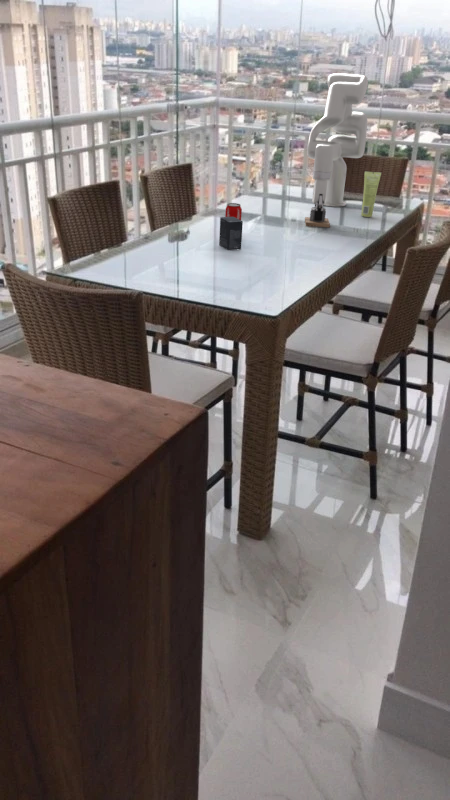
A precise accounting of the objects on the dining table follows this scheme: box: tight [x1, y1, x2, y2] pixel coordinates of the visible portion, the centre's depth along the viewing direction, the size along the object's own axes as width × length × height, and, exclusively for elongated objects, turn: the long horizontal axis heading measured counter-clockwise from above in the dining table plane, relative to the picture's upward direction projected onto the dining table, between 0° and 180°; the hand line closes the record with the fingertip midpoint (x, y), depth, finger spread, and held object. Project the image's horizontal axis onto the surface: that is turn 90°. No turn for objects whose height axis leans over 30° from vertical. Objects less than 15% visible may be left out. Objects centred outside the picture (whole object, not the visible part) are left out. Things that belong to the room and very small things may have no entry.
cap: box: [309, 206, 327, 222], centre depth 299 cm, size 6×6×5 cm
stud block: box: [304, 216, 331, 228], centre depth 300 cm, size 10×10×5 cm
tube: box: [360, 170, 382, 218], centre depth 314 cm, size 6×5×20 cm
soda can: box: [224, 202, 243, 221], centre depth 274 cm, size 6×6×12 cm
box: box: [218, 216, 243, 251], centre depth 259 cm, size 8×6×11 cm
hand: (317, 218), depth 300 cm, fingers closed on cap, 6 cm apart
